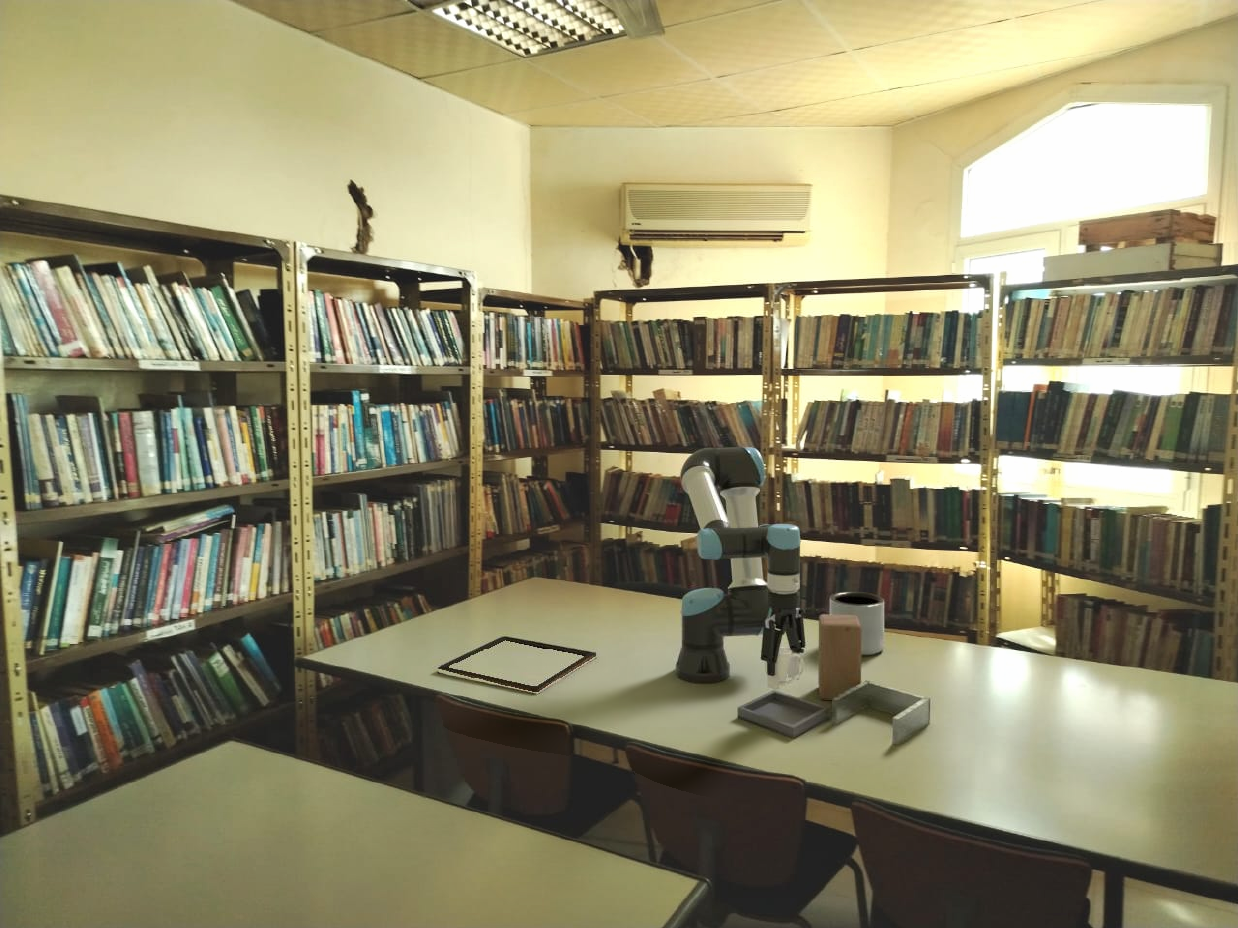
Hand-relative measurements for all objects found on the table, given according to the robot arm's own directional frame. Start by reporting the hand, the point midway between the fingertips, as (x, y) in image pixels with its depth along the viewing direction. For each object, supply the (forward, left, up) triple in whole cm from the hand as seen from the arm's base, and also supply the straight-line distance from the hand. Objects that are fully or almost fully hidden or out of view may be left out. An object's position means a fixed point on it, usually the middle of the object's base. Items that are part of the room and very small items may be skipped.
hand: (783, 682), depth 186 cm
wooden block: (+2, +22, -9) cm, 24 cm away
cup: (0, 0, 0) cm, 0 cm away
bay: (+18, +14, -9) cm, 24 cm away
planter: (-13, +57, -9) cm, 59 cm away
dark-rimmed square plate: (-76, -23, -10) cm, 80 cm away
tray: (0, 0, -9) cm, 9 cm away
